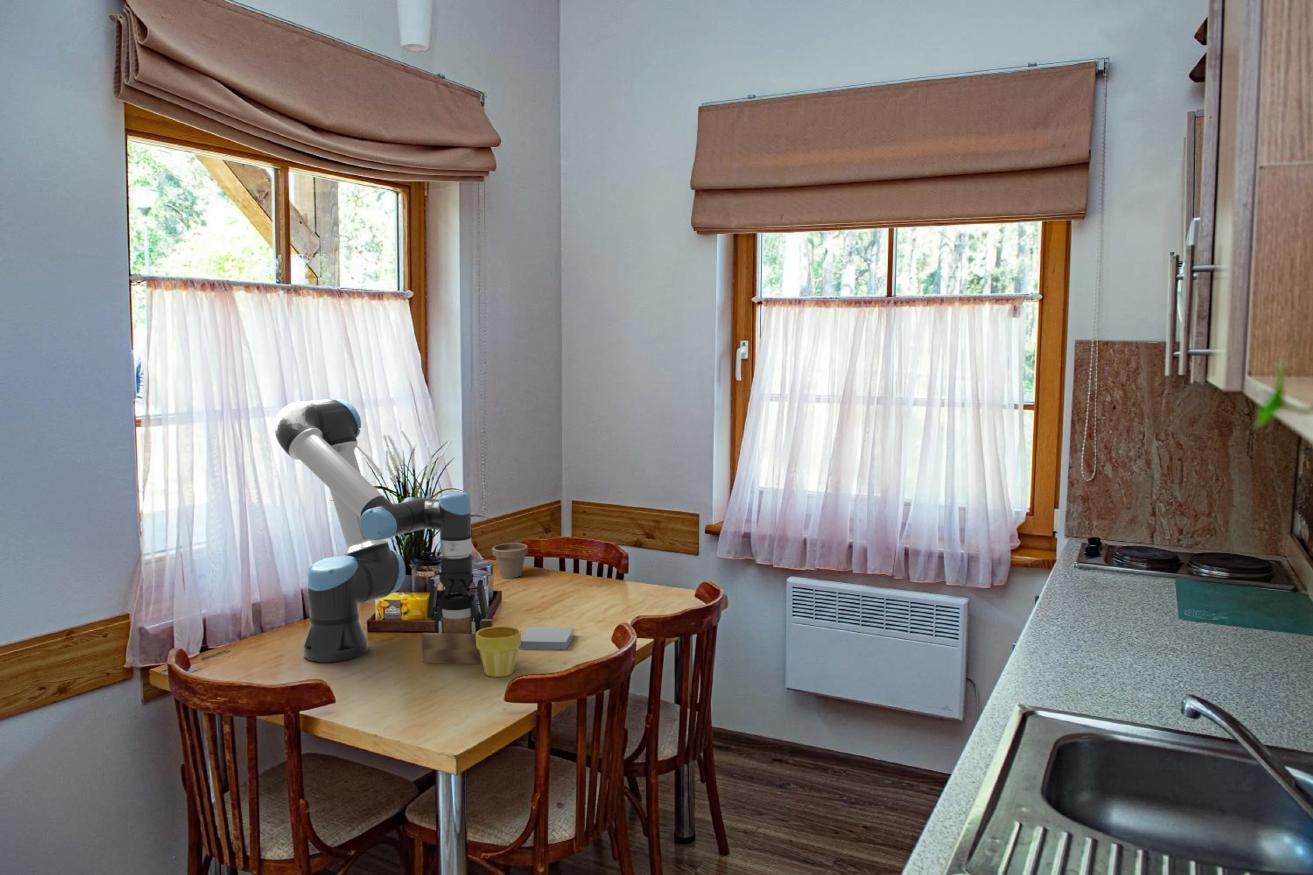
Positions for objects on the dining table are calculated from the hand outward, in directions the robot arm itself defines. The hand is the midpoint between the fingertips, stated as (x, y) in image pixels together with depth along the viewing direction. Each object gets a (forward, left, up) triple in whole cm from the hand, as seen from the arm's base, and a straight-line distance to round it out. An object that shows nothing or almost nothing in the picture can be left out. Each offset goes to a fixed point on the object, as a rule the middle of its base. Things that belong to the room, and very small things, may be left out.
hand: (458, 645), depth 237 cm
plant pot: (+13, -12, -2) cm, 18 cm away
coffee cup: (0, 0, -2) cm, 2 cm away
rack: (0, 0, -2) cm, 2 cm away
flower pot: (-5, +78, -2) cm, 78 cm away
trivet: (+20, +11, -2) cm, 23 cm away
